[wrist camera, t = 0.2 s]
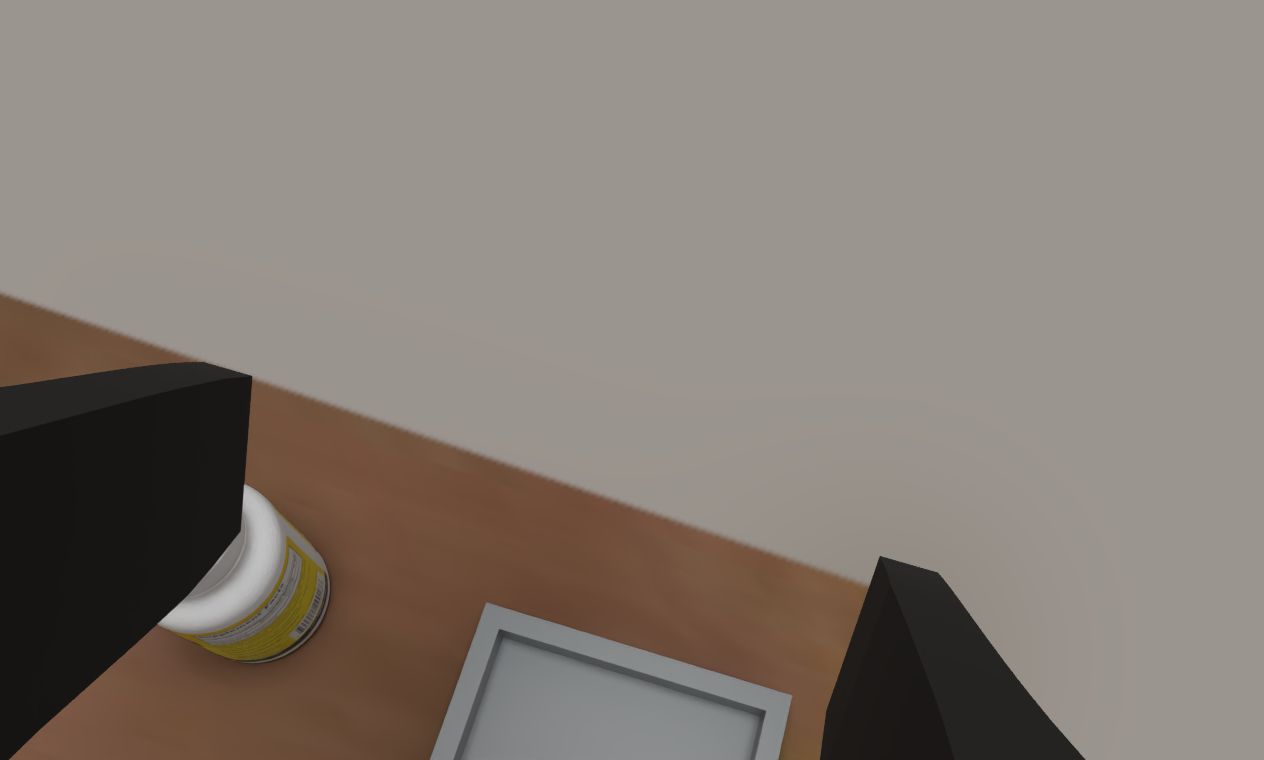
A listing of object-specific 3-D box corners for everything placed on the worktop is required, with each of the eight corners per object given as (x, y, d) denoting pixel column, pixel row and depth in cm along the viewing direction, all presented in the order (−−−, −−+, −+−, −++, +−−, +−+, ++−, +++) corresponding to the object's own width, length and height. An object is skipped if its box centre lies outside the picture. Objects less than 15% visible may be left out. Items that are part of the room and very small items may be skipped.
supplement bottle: (181, 564, 42) (67, 484, 33) (310, 513, 43) (233, 422, 34) (214, 689, 40) (102, 640, 31) (349, 633, 41) (278, 569, 32)
